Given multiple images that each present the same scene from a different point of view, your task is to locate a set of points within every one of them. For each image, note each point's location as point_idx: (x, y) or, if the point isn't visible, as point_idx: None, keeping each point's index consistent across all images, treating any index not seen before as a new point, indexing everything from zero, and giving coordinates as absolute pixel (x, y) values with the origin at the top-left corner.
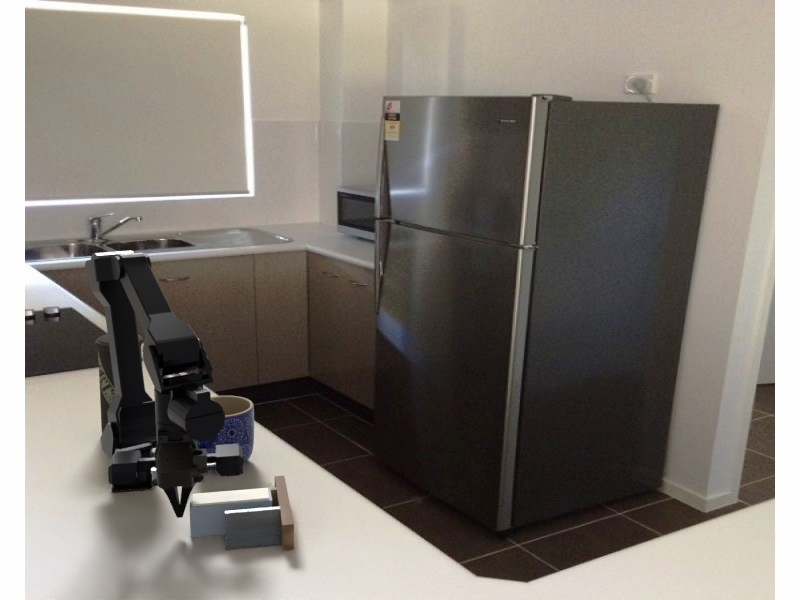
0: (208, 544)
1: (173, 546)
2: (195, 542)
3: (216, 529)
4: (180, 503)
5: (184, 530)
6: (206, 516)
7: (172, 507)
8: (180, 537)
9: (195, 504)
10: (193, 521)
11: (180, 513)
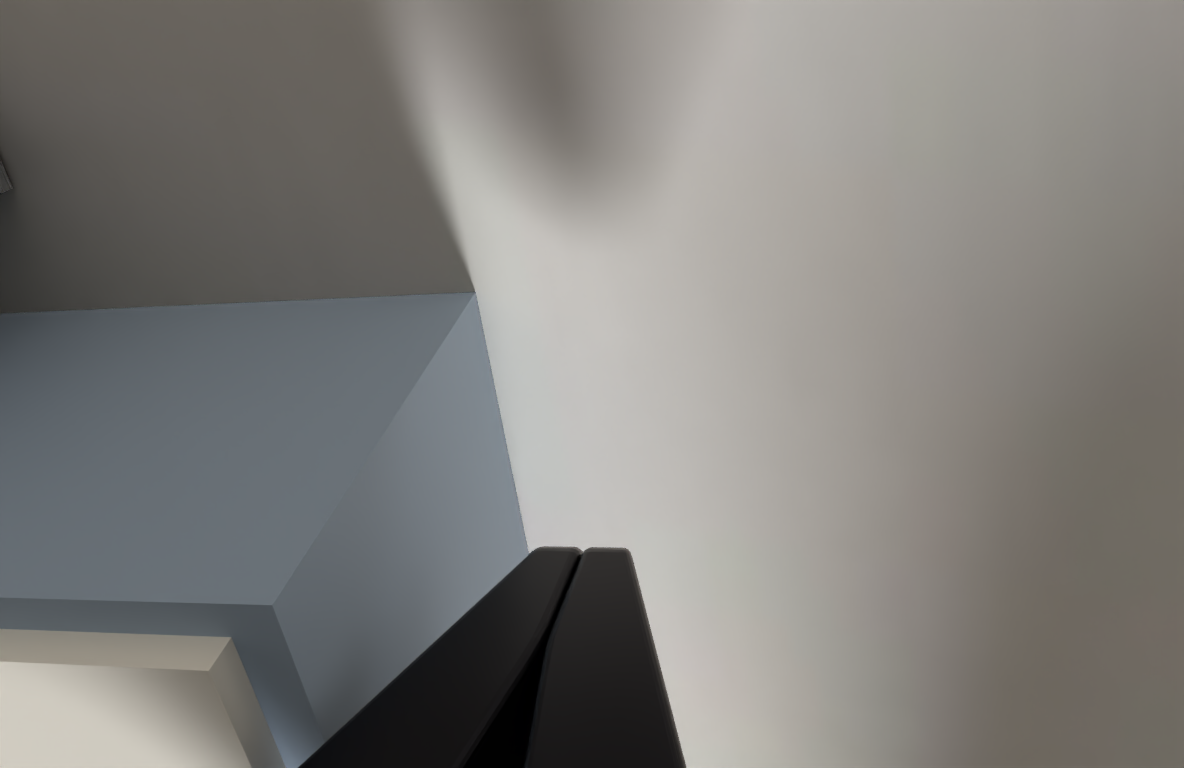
0: (180, 66)
1: (675, 59)
2: (374, 142)
3: (120, 338)
4: (465, 740)
5: (588, 456)
6: (107, 458)
7: (663, 690)
8: (611, 300)
9: (149, 659)
10: (341, 415)
11: (547, 588)
